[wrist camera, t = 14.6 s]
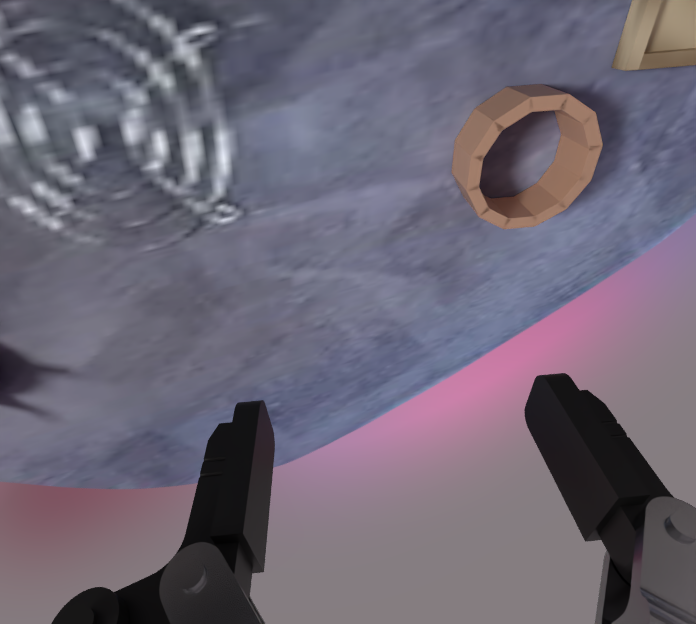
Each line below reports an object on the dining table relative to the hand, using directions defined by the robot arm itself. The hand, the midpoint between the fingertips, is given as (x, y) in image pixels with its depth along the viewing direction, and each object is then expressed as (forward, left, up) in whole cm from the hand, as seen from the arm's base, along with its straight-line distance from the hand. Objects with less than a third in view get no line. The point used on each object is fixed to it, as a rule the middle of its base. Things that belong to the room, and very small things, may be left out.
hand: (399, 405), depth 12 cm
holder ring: (+2, +15, -28) cm, 32 cm away
